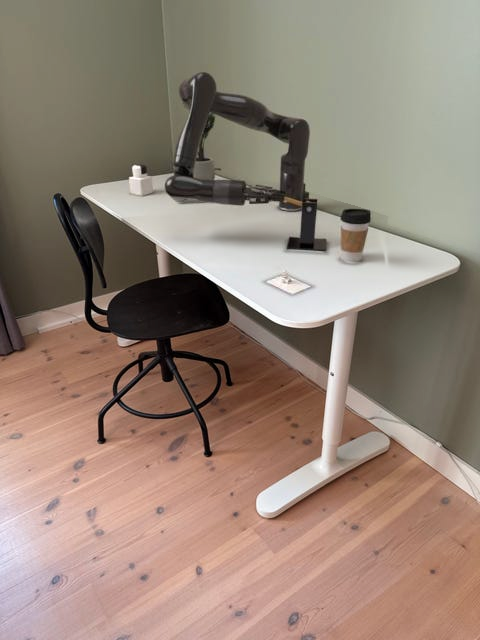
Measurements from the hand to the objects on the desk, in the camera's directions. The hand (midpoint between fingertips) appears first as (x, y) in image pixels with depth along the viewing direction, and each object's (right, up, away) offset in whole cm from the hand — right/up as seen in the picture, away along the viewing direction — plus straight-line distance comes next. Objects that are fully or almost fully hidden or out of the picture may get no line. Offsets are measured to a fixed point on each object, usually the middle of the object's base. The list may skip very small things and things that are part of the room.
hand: (284, 196), depth 145 cm
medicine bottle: (-57, +18, +65) cm, 88 cm away
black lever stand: (+8, -14, +7) cm, 18 cm away
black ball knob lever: (+2, -3, +1) cm, 4 cm away
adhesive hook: (-1, -28, -18) cm, 33 cm away
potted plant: (-30, +16, +61) cm, 70 cm away
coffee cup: (+19, -20, -3) cm, 28 cm away
